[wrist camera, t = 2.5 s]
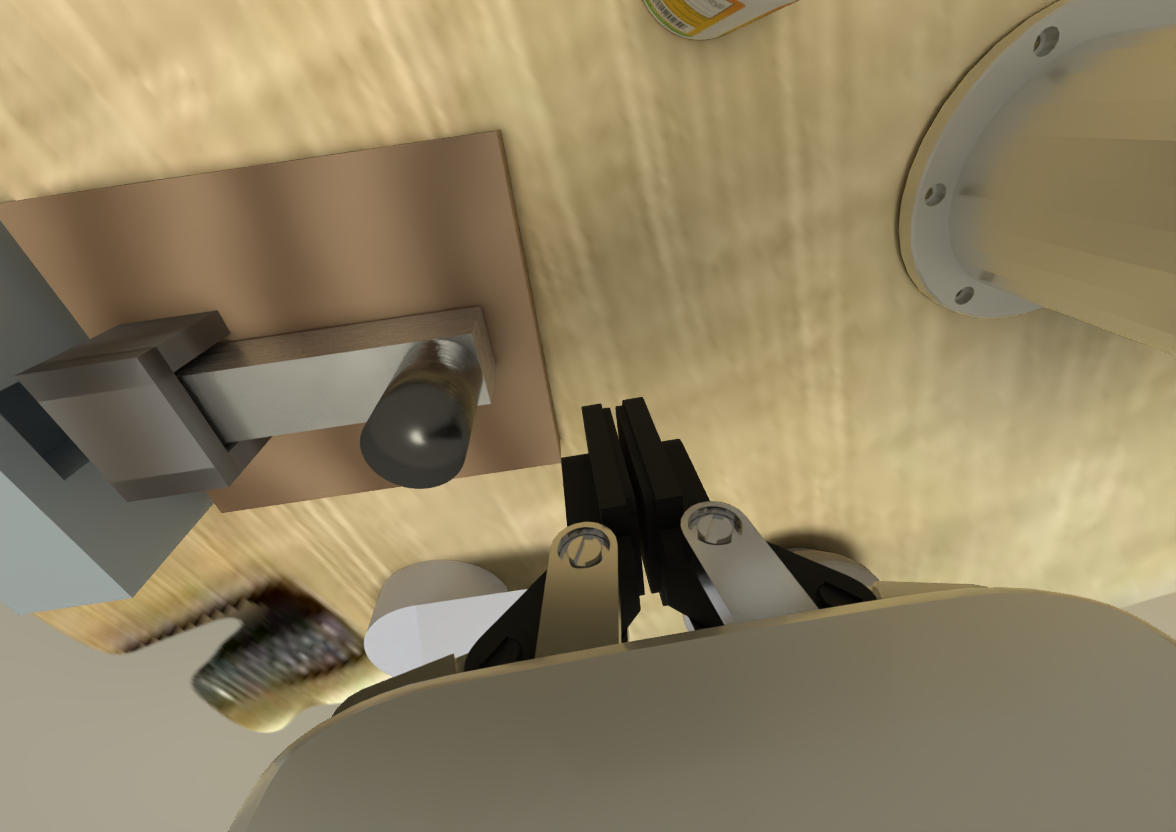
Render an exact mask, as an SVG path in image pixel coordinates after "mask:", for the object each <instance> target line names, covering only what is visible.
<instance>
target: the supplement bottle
mask: <svg viewBox="0 0 1176 832" xmlns="http://www.w3.org/2000/svg"><path fill="white" fill-rule="evenodd" d="M643 1H644V3H645V5H646V7H647V8H648V10H649V11H650V13H651V14H652V15H653V17H654V18H655V19H656V20H657V21H658V22H659V23H660V24H661V25H662V26H663V27H665V28H666V29H667V30H669V31H671V32H672V33H674V34H676V35H678V36H681V37H684V38H688V39H694V40H706V39H712V38H716V37H719V36H722V35H726V34H728V33H730V32H732V31H734V30H736V29H738V28H740V27H743V26H745V25H747V24H749V23H751V22H753V21H755V20H757V19H760V18H762V17H764V16H766V15H768V14H770V13H772V12H775V11H777V10H779V9H781V8H783V7H785V6H788V5H790V4H792V3H794V2H797V1H799V0H643Z"/></svg>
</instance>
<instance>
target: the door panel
mask: <svg viewBox="0 0 1176 832" xmlns="http://www.w3.org/2000/svg"><path fill="white" fill-rule="evenodd" d="M0 220H1V222H2V223H3V224H4V226H5V227H6V228H7V230H8V231H9V232H10V234H11V235H12V236H13V238H14V239H15V240H16V242H17V243H18V244H19V246H20V247H21V248H22V250H23V251H24V252H25V253H26V255H27V256H28V257H29V259H30V260H31V261H32V263H33V264H34V265H35V267H36V268H37V269H38V271H39V272H40V273H41V275H42V276H43V277H44V279H45V280H46V281H47V283H48V284H49V285H50V287H51V288H52V289H53V291H54V292H55V293H56V295H57V296H58V297H59V298H60V300H61V301H62V302H63V304H64V305H65V306H66V308H67V309H68V310H69V312H70V313H71V314H72V316H73V317H74V318H75V320H76V321H77V322H78V324H79V325H80V326H81V328H82V329H83V330H84V332H85V333H86V334H87V336H88V337H89V338H90V339H89V340H87V341H85V342H83V343H81V344H79V345H77V346H75V347H73V348H71V349H68V350H66V351H64V352H62V353H60V354H58V355H56V356H54V357H52V358H50V359H48V360H46V361H44V362H42V363H40V364H38V365H36V366H33V367H31V368H29V369H27V370H25V371H23V372H21V373H19V374H17V375H15V377H16V378H17V379H18V380H19V381H20V383H21V384H22V385H23V386H24V387H25V388H26V389H27V390H28V392H29V393H30V394H31V395H32V396H33V397H34V398H35V399H36V401H37V402H38V403H39V404H40V405H41V406H42V407H43V408H44V409H45V411H46V412H47V413H48V414H49V415H50V416H51V417H52V418H53V420H54V421H55V422H56V423H57V424H58V425H59V426H60V427H61V429H62V430H63V431H64V432H65V433H66V434H67V435H68V436H69V438H70V439H71V440H72V441H73V442H74V443H75V444H76V445H77V446H78V448H79V449H80V450H81V451H82V452H83V453H84V454H85V455H86V457H87V458H88V459H89V460H90V461H91V462H92V463H93V464H94V466H95V467H96V468H97V469H98V470H99V471H100V472H101V473H102V475H103V476H104V477H105V478H106V479H107V480H108V481H109V482H110V483H111V485H112V486H113V487H114V488H115V489H116V490H117V491H118V492H119V494H120V495H121V496H122V497H123V498H124V499H125V500H126V501H127V502H132V501H139V500H146V499H153V498H159V497H166V496H173V495H180V494H186V493H193V492H200V491H205V492H206V493H207V494H208V496H209V497H210V498H211V500H212V501H213V502H214V504H215V505H216V506H217V507H218V509H219V510H220V511H221V513H225V512H232V511H238V510H245V509H252V508H259V507H265V506H272V505H279V504H286V503H293V502H299V501H306V500H313V499H320V498H326V497H333V496H340V495H347V494H353V493H360V492H367V491H374V490H380V489H387V488H394V487H401V486H399V485H396V484H394V483H391V482H389V481H387V480H385V479H384V478H382V477H381V476H379V475H378V474H377V473H375V472H374V471H373V470H372V469H371V468H370V467H369V465H368V464H367V463H366V461H365V459H364V457H363V455H362V453H361V449H360V435H361V432H362V429H363V427H364V426H365V424H366V422H364V423H357V424H351V425H344V426H337V427H330V428H324V429H317V430H310V431H303V432H296V433H290V434H283V435H276V436H269V437H262V438H256V439H249V440H242V441H235V442H229V443H221V441H220V440H219V439H218V437H217V436H216V434H215V433H214V431H213V430H212V428H211V427H210V425H209V424H208V422H207V421H206V419H205V418H204V416H203V415H202V414H201V412H200V411H199V409H198V408H197V406H196V405H195V403H194V402H193V400H192V399H191V397H190V396H189V394H188V393H187V391H186V390H185V389H184V387H183V386H182V384H181V383H180V381H179V380H178V378H177V377H176V375H175V374H174V372H175V371H176V370H178V369H179V368H181V367H182V366H184V365H185V364H186V363H188V362H189V361H191V360H192V359H194V358H195V357H197V356H198V355H200V354H201V353H202V352H204V351H205V350H207V349H208V348H210V347H211V346H213V345H217V344H224V343H231V342H238V341H244V340H251V339H258V338H265V337H272V336H279V335H285V334H292V333H299V332H306V331H313V330H319V329H326V328H333V327H340V326H347V325H353V324H360V323H367V322H374V321H381V320H387V319H394V318H401V317H408V316H415V315H421V314H428V313H435V312H442V311H449V310H456V309H462V308H469V307H476V306H481V308H482V312H483V316H484V320H485V324H486V328H487V331H488V335H489V339H490V343H491V347H492V351H493V355H494V359H495V363H496V367H497V374H496V379H495V385H494V390H493V396H492V401H491V404H486V405H480V406H477V410H476V415H475V419H474V423H473V428H472V432H471V436H470V441H469V445H468V450H467V454H466V458H465V462H464V465H463V467H462V469H461V470H460V472H459V473H458V474H457V475H456V476H455V477H454V478H453V479H455V478H462V477H468V476H475V475H482V474H489V473H496V472H502V471H509V470H516V469H523V468H529V467H536V466H543V465H550V464H556V463H561V448H560V438H559V432H558V427H557V422H556V417H555V411H554V406H553V401H552V396H551V390H550V385H549V380H548V375H547V370H546V364H545V359H544V354H543V349H542V343H541V338H540V333H539V328H538V323H537V317H536V312H535V307H534V302H533V296H532V291H531V286H530V281H529V275H528V270H527V265H526V260H525V255H524V249H523V244H522V239H521V234H520V228H519V223H518V218H517V213H516V207H515V202H514V197H513V192H512V187H511V181H510V176H509V171H508V166H507V160H506V155H505V150H504V145H503V140H502V134H501V130H497V131H490V132H483V133H476V134H469V135H462V136H456V137H449V138H442V139H435V140H428V141H421V142H414V143H408V144H401V145H394V146H387V147H380V148H373V149H366V150H360V151H353V152H346V153H339V154H332V155H325V156H319V157H312V158H305V159H298V160H291V161H284V162H277V163H271V164H264V165H257V166H250V167H243V168H236V169H230V170H223V171H216V172H209V173H202V174H195V175H188V176H182V177H175V178H168V179H161V180H154V181H147V182H140V183H134V184H127V185H120V186H113V187H106V188H99V189H93V190H86V191H79V192H72V193H65V194H58V195H51V196H45V197H38V198H31V199H25V200H19V201H12V202H6V203H0Z"/></svg>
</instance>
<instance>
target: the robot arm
mask: <svg viewBox="0 0 1176 832" xmlns="http://www.w3.org/2000/svg"><path fill="white" fill-rule="evenodd" d="M899 238H900V248H901V255H902V258H903V261H904V264H905V266H906V269H907V272H908V275H909V276H910V278H911V279H912V280H913V282H914V283H915V285H916V286H917V288H918V289H919V290H920V291H921V292H922V293H923V294H924V295H926V296H927V297H928V298H929V299H931V300H932V301H933V302H935V303H937V304H939V305H941V306H943V307H945V308H947V309H949V310H951V311H953V312H956V313H959V314H963V315H967V316H970V317H974V318H996V319H997V318H1003V317H1010V316H1017V315H1022V314H1025V313H1028V312H1032V311H1035V310H1038V309H1041V308H1045V307H1046V308H1049V309H1051V310H1054V311H1057V312H1059V313H1062V314H1065V315H1067V316H1070V317H1073V318H1075V319H1078V320H1081V321H1083V322H1086V323H1089V324H1091V325H1094V326H1097V327H1099V328H1102V329H1105V330H1107V331H1110V332H1113V333H1115V334H1118V335H1121V336H1123V337H1126V338H1129V339H1131V340H1134V341H1137V342H1139V343H1142V344H1145V345H1147V346H1150V347H1153V348H1155V349H1158V350H1161V351H1163V352H1166V353H1169V354H1171V355H1174V356H1176V0H1059V1H1057V2H1056V3H1054V4H1052V5H1050V6H1049V7H1047V8H1045V9H1043V10H1042V11H1040V12H1038V13H1037V14H1035V15H1033V16H1031V17H1030V18H1029V19H1027V20H1026V21H1025V22H1023V23H1022V24H1021V25H1020V26H1018V27H1017V28H1016V29H1015V30H1013V31H1012V32H1011V33H1009V34H1008V35H1007V36H1006V37H1004V38H1003V39H1002V40H1001V41H999V42H998V43H997V44H996V45H995V46H994V47H993V48H992V49H991V50H990V51H989V52H988V53H987V54H986V55H985V56H984V57H983V58H982V59H981V60H980V61H979V62H978V63H977V64H976V65H975V66H974V67H973V68H972V69H971V70H970V71H969V72H968V74H967V75H966V76H965V77H964V79H963V80H962V81H961V83H960V84H959V85H958V87H957V88H956V89H955V90H954V92H953V93H952V94H951V96H950V97H949V98H948V100H947V101H946V102H945V104H944V105H943V106H942V108H941V110H940V111H939V113H938V115H937V116H936V118H935V120H934V122H933V123H932V125H931V127H930V128H929V130H928V132H927V133H926V135H925V137H924V139H923V141H922V143H921V145H920V148H919V150H918V152H917V155H916V157H915V159H914V162H913V164H912V166H911V169H910V171H909V175H908V178H907V182H906V186H905V190H904V194H903V197H902V201H901V210H900V221H899ZM582 414H583V420H584V427H585V434H586V440H587V447H588V454H582V455H576V456H570V457H563V458H561V464H562V475H563V485H564V496H565V507H566V518H567V527H566V528H565V529H563V530H562V531H561V532H559V533H558V535H557V536H556V537H555V538H554V540H553V542H552V545H551V548H550V554H549V561H548V568H547V570H546V571H545V572H544V573H543V574H542V575H541V576H540V577H539V578H538V579H537V580H536V581H535V582H534V583H533V584H532V585H531V586H530V587H529V588H528V589H527V590H526V591H525V592H524V593H523V594H522V595H521V596H520V597H519V599H518V600H517V601H516V602H515V603H514V604H513V605H512V606H511V607H510V608H509V609H508V610H507V611H506V612H505V613H504V614H503V615H502V616H501V617H500V618H499V619H498V620H497V621H496V622H495V623H494V624H493V625H492V626H491V627H490V628H489V629H488V630H487V631H486V632H485V633H484V634H483V635H482V636H481V637H480V638H479V639H478V640H477V641H476V643H475V644H474V645H473V647H472V648H471V649H470V651H469V653H467V654H465V655H462V656H460V657H457V658H456V657H455V655H454V653H453V654H450V655H448V656H445V657H443V658H440V659H438V660H435V661H433V662H430V663H428V664H425V665H423V666H420V667H418V668H415V669H413V670H410V671H408V672H405V673H403V674H400V675H397V676H395V677H392V678H390V679H387V680H385V681H382V682H380V683H377V684H375V685H372V686H370V687H367V688H365V689H362V690H360V691H358V692H357V693H355V694H353V695H351V696H350V697H348V698H347V699H346V700H345V701H344V702H343V703H342V704H341V705H340V706H339V707H338V708H337V709H336V711H335V712H334V714H333V715H332V717H331V718H329V719H327V720H326V721H324V722H322V723H320V724H319V725H317V726H316V727H314V728H313V729H312V730H310V731H308V732H307V733H305V734H304V735H303V736H301V737H300V738H299V739H297V740H296V741H295V742H293V743H292V744H291V745H289V746H288V747H287V748H286V749H285V750H284V751H283V752H282V753H281V754H280V755H279V756H278V757H277V758H276V759H275V760H274V761H273V762H272V763H271V764H270V765H269V767H268V768H267V769H266V770H265V772H264V773H263V774H262V775H261V777H260V778H259V780H258V781H257V783H256V784H255V786H254V787H253V789H252V790H251V792H250V793H249V795H248V796H247V798H246V800H245V801H244V803H243V805H242V807H241V808H240V810H239V812H238V814H237V816H236V817H235V820H234V821H233V823H232V825H231V827H230V829H229V831H228V832H1176V640H1175V639H1173V638H1172V637H1170V636H1169V635H1167V634H1166V633H1164V632H1162V631H1161V630H1159V629H1157V628H1156V627H1154V626H1152V625H1151V624H1149V623H1148V622H1146V621H1144V620H1142V619H1140V618H1138V617H1136V616H1134V615H1133V614H1131V613H1128V612H1127V611H1124V610H1122V609H1119V608H1117V607H1114V606H1112V605H1109V604H1106V603H1103V602H1099V601H1096V600H1092V599H1088V598H1084V597H1079V596H1075V595H1071V594H1064V593H1057V592H1050V591H1043V590H1037V589H1026V588H1007V587H991V588H989V587H986V586H980V585H974V584H949V583H919V582H889V581H874V583H873V586H865V585H864V584H863V583H861V582H859V581H858V580H856V579H854V578H852V577H850V576H848V575H846V574H843V573H841V572H838V571H836V570H834V569H831V568H829V567H826V566H824V565H822V564H819V563H817V562H815V561H812V560H810V559H807V558H805V557H803V556H800V555H798V554H795V553H793V552H791V551H788V550H786V549H784V548H781V547H779V546H776V545H774V544H772V543H769V542H767V541H765V540H764V538H763V537H762V536H761V535H760V533H759V532H758V531H757V530H756V528H755V527H754V526H753V524H752V523H751V522H750V521H749V519H748V518H747V517H746V516H745V515H744V514H743V513H742V512H741V511H740V510H739V509H737V508H735V507H734V506H732V505H730V504H726V503H722V502H715V501H710V500H709V498H708V496H707V494H706V492H705V489H704V487H703V485H702V483H701V481H700V479H699V477H698V475H697V473H696V471H695V468H694V466H693V464H692V462H691V460H690V458H689V456H688V454H687V452H686V450H685V447H684V445H683V443H682V442H681V440H680V439H674V440H668V441H662V442H661V440H660V438H659V435H658V433H657V430H656V428H655V425H654V423H653V421H652V418H651V416H650V413H649V411H648V408H647V406H646V404H645V401H644V399H643V397H639V398H632V399H626V400H623V401H622V406H616V418H617V427H618V435H617V432H616V428H615V424H614V421H613V417H612V414H611V410H610V408H603V409H602V405H601V404H595V405H589V406H583V407H582ZM618 436H619V439H618ZM641 556H642V557H641ZM642 560H643V564H644V568H645V572H646V576H647V579H648V583H649V587H650V591H651V593H652V594H653V593H658V592H659V593H660V597H661V601H662V604H663V606H667V605H668V606H670V607H672V608H674V609H675V610H677V611H679V612H681V613H682V614H683V620H684V623H685V626H686V628H687V630H688V632H684V633H678V634H672V635H666V636H660V637H655V638H649V639H643V640H637V641H632V642H629V630H628V626H629V625H630V624H631V622H632V621H633V620H634V618H635V617H636V616H637V614H638V613H639V612H640V610H641V608H640V598H639V596H641V595H645V591H644V580H643V568H642Z"/></svg>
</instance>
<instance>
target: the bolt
mask: <svg viewBox="0 0 1176 832" xmlns="http://www.w3.org/2000/svg"><path fill="white" fill-rule="evenodd" d="M174 374H175V375H176V377H177V378H178V380H179V381H180V383H181V384H182V386H183V387H184V389H185V390H186V391H187V393H188V394H189V396H190V397H191V399H192V400H193V402H194V403H195V405H196V406H197V408H198V409H199V411H200V412H201V414H202V415H203V416H204V418H205V419H206V421H207V422H208V424H209V425H210V427H211V428H212V430H213V431H214V433H215V434H216V436H217V437H218V439H219V440H220V441H221V443H229V442H235V441H242V440H249V439H256V438H262V437H269V436H276V435H283V434H290V433H296V432H303V431H310V430H317V429H324V428H330V427H337V426H344V425H351V424H357V423H364V422H366V424H365V426H364V427H363V429H362V432H361V435H360V449H361V453H362V455H363V457H364V459H365V461H366V463H367V464H368V465H369V467H370V468H371V469H372V470H373V471H374V472H375V473H377V474H378V475H379V476H381V477H382V478H384V479H385V480H387V481H389V482H391V483H394V484H396V485H399V486H403V487H407V488H415V489H424V488H432V487H436V486H440V485H442V484H444V483H447V482H448V481H450V480H451V479H453V478H454V477H455V476H456V475H457V474H458V473H459V472H460V470H461V469H462V467H463V465H464V462H465V458H466V454H467V450H468V445H469V441H470V436H471V432H472V428H473V423H474V419H475V415H476V410H477V406H480V405H486V404H491V401H492V396H493V390H494V385H495V379H496V374H497V367H496V363H495V359H494V355H493V351H492V347H491V343H490V339H489V335H488V331H487V328H486V324H485V320H484V316H483V312H482V308H481V306H476V307H469V308H462V309H456V310H449V311H442V312H435V313H428V314H421V315H415V316H408V317H401V318H394V319H387V320H381V321H374V322H367V323H360V324H353V325H347V326H340V327H333V328H326V329H319V330H313V331H306V332H299V333H292V334H285V335H279V336H272V337H265V338H258V339H251V340H244V341H238V342H231V343H224V344H217V345H213V346H211V347H210V348H208V349H207V350H205V351H204V352H202V353H201V354H200V355H198V356H197V357H195V358H194V359H192V360H191V361H189V362H188V363H186V364H185V365H184V366H182V367H181V368H179V369H178V370H176V371H175V372H174Z"/></svg>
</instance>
